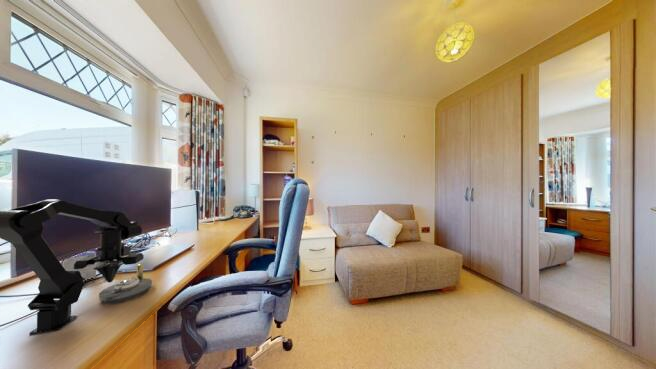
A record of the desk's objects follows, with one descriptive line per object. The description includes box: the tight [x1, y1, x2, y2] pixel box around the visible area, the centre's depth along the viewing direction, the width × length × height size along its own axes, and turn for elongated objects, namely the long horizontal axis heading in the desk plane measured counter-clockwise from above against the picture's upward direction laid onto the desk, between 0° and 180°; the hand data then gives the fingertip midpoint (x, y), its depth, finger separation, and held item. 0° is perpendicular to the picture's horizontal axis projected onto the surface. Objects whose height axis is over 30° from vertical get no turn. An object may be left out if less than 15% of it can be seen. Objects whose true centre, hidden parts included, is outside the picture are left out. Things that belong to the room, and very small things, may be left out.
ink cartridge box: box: [61, 250, 97, 282], centre depth 90 cm, size 10×6×14 cm, turn 145°
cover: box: [114, 277, 139, 292], centre depth 80 cm, size 7×7×3 cm
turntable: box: [98, 263, 153, 302], centre depth 81 cm, size 17×15×8 cm
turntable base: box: [102, 288, 150, 305], centre depth 80 cm, size 13×13×1 cm
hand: (110, 281), depth 78 cm, fingers closed
